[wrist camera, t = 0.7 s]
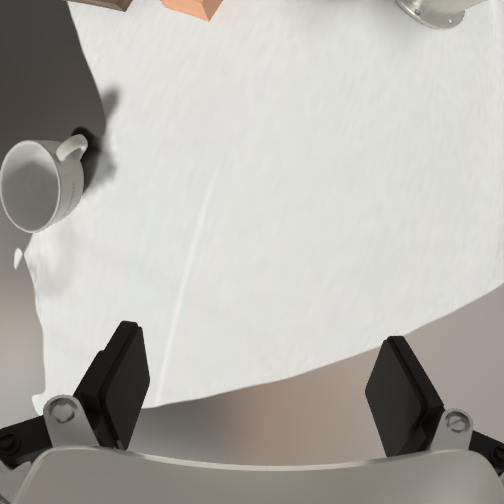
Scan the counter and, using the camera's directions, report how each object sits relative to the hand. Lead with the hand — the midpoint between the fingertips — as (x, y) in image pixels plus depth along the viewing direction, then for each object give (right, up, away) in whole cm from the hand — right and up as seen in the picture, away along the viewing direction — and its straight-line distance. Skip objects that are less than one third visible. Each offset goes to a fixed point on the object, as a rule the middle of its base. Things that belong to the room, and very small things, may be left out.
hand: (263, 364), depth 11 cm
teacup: (-24, +15, +24) cm, 37 cm away
